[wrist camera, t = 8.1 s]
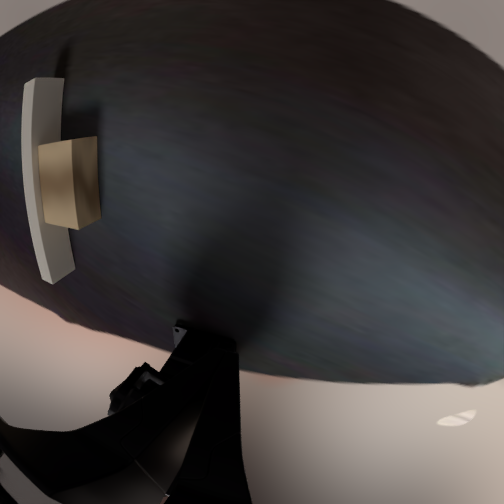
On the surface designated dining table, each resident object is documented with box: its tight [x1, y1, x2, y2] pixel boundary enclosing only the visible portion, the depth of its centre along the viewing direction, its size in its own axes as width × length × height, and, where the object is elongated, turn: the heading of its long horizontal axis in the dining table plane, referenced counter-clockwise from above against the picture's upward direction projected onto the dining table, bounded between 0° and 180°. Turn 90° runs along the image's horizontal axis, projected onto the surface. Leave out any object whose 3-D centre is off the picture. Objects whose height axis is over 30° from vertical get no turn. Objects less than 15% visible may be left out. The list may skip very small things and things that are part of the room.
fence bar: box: [22, 78, 76, 284], centre depth 21 cm, size 22×2×4 cm, turn 175°
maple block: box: [38, 136, 101, 230], centre depth 21 cm, size 8×6×4 cm
